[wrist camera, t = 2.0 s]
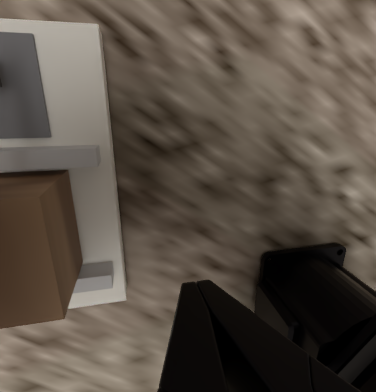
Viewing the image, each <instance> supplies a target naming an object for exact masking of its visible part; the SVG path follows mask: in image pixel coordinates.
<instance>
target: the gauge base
mask: <svg viewBox="0 0 376 392" xmlns="http://www.w3.org/2000/svg"><path fill="white" fill-rule="evenodd" d="M0 79H1V83H2V87H0V173H8V172H29V171H51V170H68V172H69V178H70V184H71V190H72V196H73V203H74V209H75V215H76V221H77V228H78V234H79V240H80V246H81V253H82V259H83V263H82V266H81V269H80V272H79V275H78V278H77V281H76V284H75V287H74V291H73V294H72V297H71V300H70V303H69V306H68V309H70V308H77V307H84V306H91V305H98V304H105V303H112V302H118V301H125V300H126V289H127V283H126V273H125V263H124V252H123V242H122V232H121V222H120V212H119V202H118V192H117V182H116V172H115V162H114V151H113V141H112V131H111V121H110V111H109V101H108V91H107V81H106V71H105V60H104V50H103V40H102V33H101V31H100V28H99V26H98V24H90V23H73V22H56V21H38V20H21V19H4V18H0Z"/></svg>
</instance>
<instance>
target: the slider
mask: <svg viewBox="0 0 376 392" xmlns="http://www.w3.org/2000/svg"><path fill="white" fill-rule="evenodd" d="M0 87H2V83H1V79H0ZM82 263H83V259H82V253H81V246H80V240H79V234H78V228H77V221H76V215H75V209H74V203H73V196H72V190H71V184H70V178H69V172H68V170H51V171H29V172H8V173H0V329H2V328H8V327H15V326H21V325H28V324H35V323H41V322H48V321H54V320H61V319H64V318H65V315H66V312H67V309H68V306H69V303H70V300H71V297H72V294H73V291H74V287H75V284H76V281H77V278H78V275H79V272H80V269H81V266H82Z"/></svg>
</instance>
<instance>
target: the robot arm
mask: <svg viewBox="0 0 376 392" xmlns="http://www.w3.org/2000/svg"><path fill="white" fill-rule="evenodd" d="M345 253H346V248H345V247H344V246H342V245H341V244H329V245H321V246H313V247H305V248H296V249H288V250H280V251H272V252H267V253H265V254H264V255H263V256H262V259H261V268H260V278H259V282H258V284H257V291H256V301H255V313H256V314H255V313H253V312H252V311H251V310H249V309H248V308H247V307H245V306H244V305H243V304H241V303H240V302H239V301H237V300H236V299H235V298H233V297H232V296H231V295H229V294H228V293H227V292H225V291H224V290H223V289H221V288H220V287H219V286H217V285H216V284H215V283H213V282H212V281H211V280H202V281H197V282H187V283H183V284H182V286H181V290H180V294H179V299H178V303H177V308H176V312H175V317H174V321H173V326H172V330H171V334H170V339H169V343H168V348H167V352H166V357H165V361H164V365H163V370H162V374H161V379H160V383H159V389H158V391H157V392H376V291H374V290H373V289H372V288H370V287H369V286H368V285H366V284H365V283H364V282H362V281H361V280H360V279H358V278H357V277H356V276H354V275H353V274H352V273H350V272H349V271H347V270H346V269H345V268H343V267H342V266H343V262H344V258H345ZM270 258H271V260H270V261H268V260H269V259H270Z"/></svg>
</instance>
